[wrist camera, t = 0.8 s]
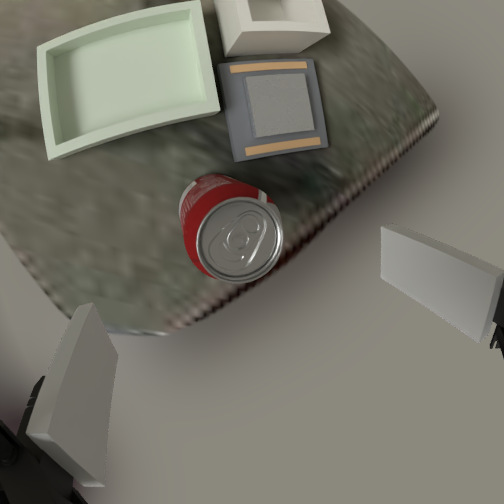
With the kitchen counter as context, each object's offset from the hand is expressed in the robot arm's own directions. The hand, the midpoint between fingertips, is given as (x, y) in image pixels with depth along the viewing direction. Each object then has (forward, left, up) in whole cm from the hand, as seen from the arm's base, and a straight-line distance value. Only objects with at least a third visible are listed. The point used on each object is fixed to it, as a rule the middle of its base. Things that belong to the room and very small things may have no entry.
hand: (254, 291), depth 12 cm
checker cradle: (-9, +9, -18) cm, 22 cm away
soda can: (0, +1, -18) cm, 18 cm away
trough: (-15, -5, -18) cm, 24 cm away
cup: (-19, +9, -18) cm, 28 cm away
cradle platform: (-9, +9, -17) cm, 21 cm away
